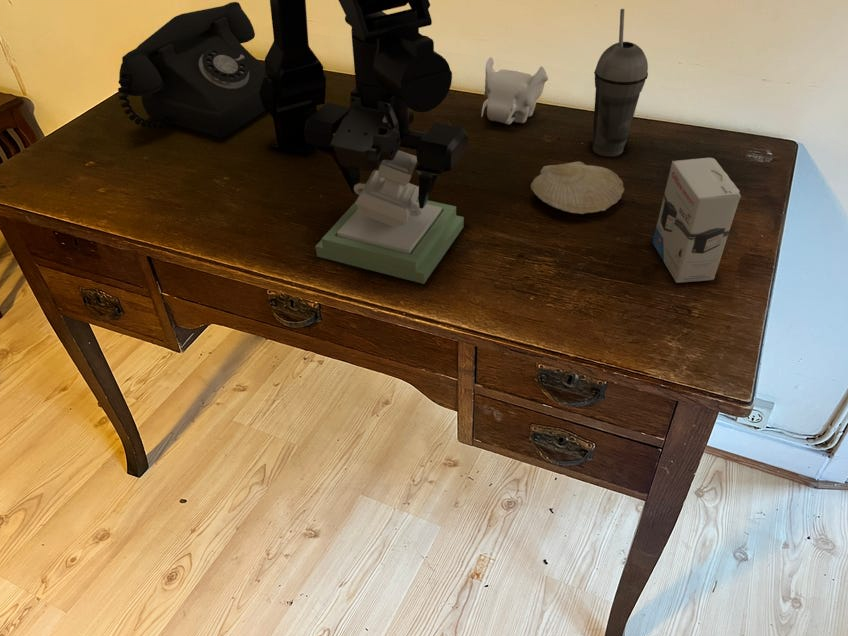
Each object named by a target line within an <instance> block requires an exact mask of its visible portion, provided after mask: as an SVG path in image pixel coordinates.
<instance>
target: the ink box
mask: <svg viewBox="0 0 848 636" xmlns="http://www.w3.org/2000/svg"><path fill="white" fill-rule="evenodd" d="M741 198H742V195H741V194H740V189H739V188H738V187H737V186H736V184H735V183H734V182H733V181H732V180H731V178H730V176H729V175H728V174H727V173H726V171H725V170H724V169H723V167H722V166H721V165H720V163H718V161H717V160H716V159H715V158H713V157H701V158H691V159H680V160H678V159H677V160H672V161H671V165H670V169H669V174H668V177H667V182H666V186H665V190H664V194H663V198H662V203H661V206H660V211H659V213H658V214H659V215H658V218H657V223H656V227H655V230H654V231H655V232H654V235H653V238H652V245H653V247H654V249H655V250H656V252H657V254H658V255H659V257H660V258H661V260H662V262H663V263H664V265H665V267H666V268H667V270H668V272H669V274H670V276H671V277H672V278H673V280H674V283H677V284H681V283H690V282H691V283H692V282H703V281H704V282H705V281H714V280H715V278H716V273H717V271H718V268H719V265H720V262H721V259H722V255H723V253H724V250H725V246H726V244H727V240H728V238H729V234H730V230H731V227H732V224H733V221H734V217H735V214H736V211H737V209H738V205H739V203H740V200H741Z"/></svg>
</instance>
